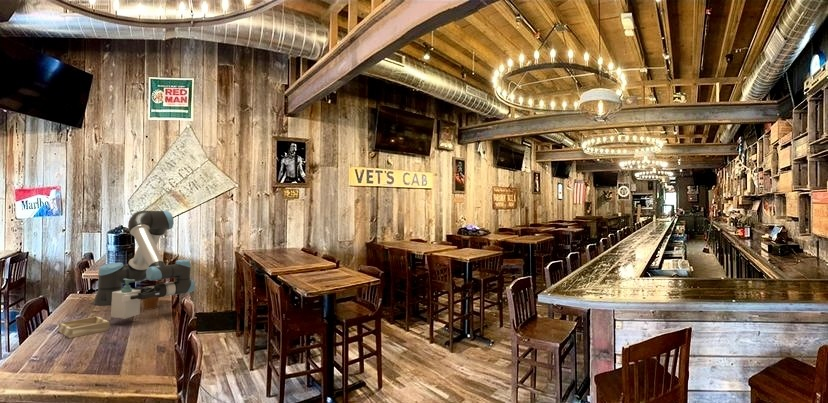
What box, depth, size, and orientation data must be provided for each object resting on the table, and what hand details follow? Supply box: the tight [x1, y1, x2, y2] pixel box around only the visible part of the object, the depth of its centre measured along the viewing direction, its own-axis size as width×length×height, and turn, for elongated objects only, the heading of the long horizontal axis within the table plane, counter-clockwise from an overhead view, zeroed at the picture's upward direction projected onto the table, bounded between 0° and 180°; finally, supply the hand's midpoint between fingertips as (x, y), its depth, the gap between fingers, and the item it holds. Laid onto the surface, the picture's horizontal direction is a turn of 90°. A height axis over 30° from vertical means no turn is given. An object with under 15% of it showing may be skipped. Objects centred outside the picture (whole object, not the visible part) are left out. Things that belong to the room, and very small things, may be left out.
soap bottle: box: [110, 279, 141, 320], centre depth 202 cm, size 9×9×19 cm
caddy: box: [57, 315, 110, 339], centre depth 188 cm, size 15×15×4 cm
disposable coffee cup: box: [142, 285, 159, 310], centre depth 231 cm, size 10×10×12 cm
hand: (117, 296), depth 199 cm, fingers closed on soap bottle, 11 cm apart
